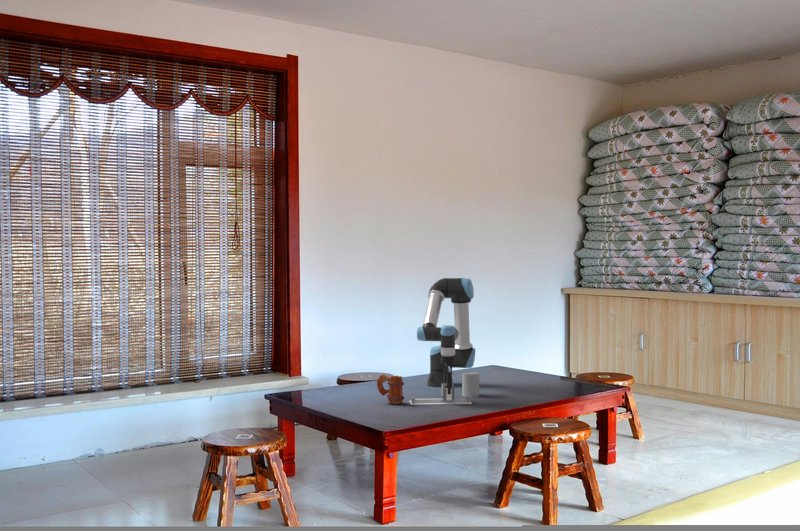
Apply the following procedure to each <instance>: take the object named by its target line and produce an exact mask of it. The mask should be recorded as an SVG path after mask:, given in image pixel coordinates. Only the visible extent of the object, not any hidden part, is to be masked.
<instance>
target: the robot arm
mask: <svg viewBox="0 0 800 531" xmlns="http://www.w3.org/2000/svg"><path fill="white" fill-rule="evenodd" d="M474 291H475V290H474V286H473V281H472V280H471V279H470V278H465V277H464V278H463V277H456V278H455V277H450V278H449V277H448V278H447V277H444V278H440V279H438V280H437V281H436V282H435V283H434V284H432V285H431V287H430V288H429V290H428V293H427V297H428V298H427V299H428V302H427V306H426V309H425V310H426V311H425V314H424V319H423V322H422V326H418V327H417V330H416V338H417V340H418V341H419V342H420V341H421V342H440V345H436V346H432V347H431V348H430V354H429V367H430V369H429V370H430V372H429V375H428V379H427V381H426V382H427V383H426V384H427V386H430V387H438V388H439V387H440V388H441V383H447V387H445V388H446V400H452V383H453V384H454V381H453V368H456V369H457V368H458V369H471V368H473V366H474V363H475V358H476V348H475V347H474V346H473V344H472V343H471V342H470V340H471V337H470V336H471V334H470V309H469V306H470V305H469V304H470V303H471V302H472V299H474V295H475V294H474V293H475V292H474ZM445 299H450V302H451V303H452V304H453V318H454V325H450V324H449V325H448V324H447V325H442V326H441V327H437V325H438V321H439V318H440V313H441V308H442V303H443V302H444V301H445Z"/></svg>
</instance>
